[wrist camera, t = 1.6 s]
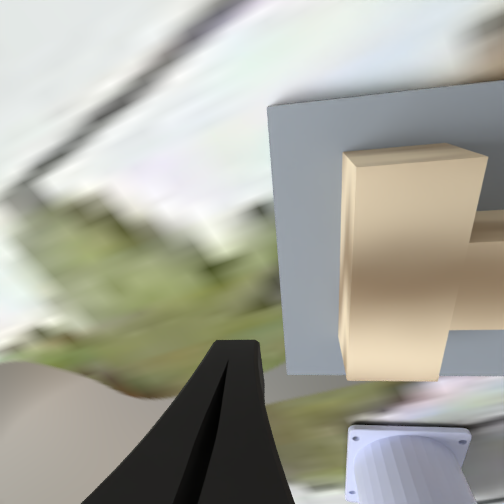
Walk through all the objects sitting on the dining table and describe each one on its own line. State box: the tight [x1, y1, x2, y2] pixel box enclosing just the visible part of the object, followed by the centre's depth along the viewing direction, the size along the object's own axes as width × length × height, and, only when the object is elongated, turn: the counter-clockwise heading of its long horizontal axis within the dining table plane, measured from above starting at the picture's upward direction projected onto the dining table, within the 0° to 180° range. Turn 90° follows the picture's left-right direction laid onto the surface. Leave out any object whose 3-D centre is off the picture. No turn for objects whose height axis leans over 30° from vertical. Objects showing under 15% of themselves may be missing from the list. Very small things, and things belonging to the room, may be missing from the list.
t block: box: [338, 143, 504, 381], centre depth 13 cm, size 10×11×3 cm
